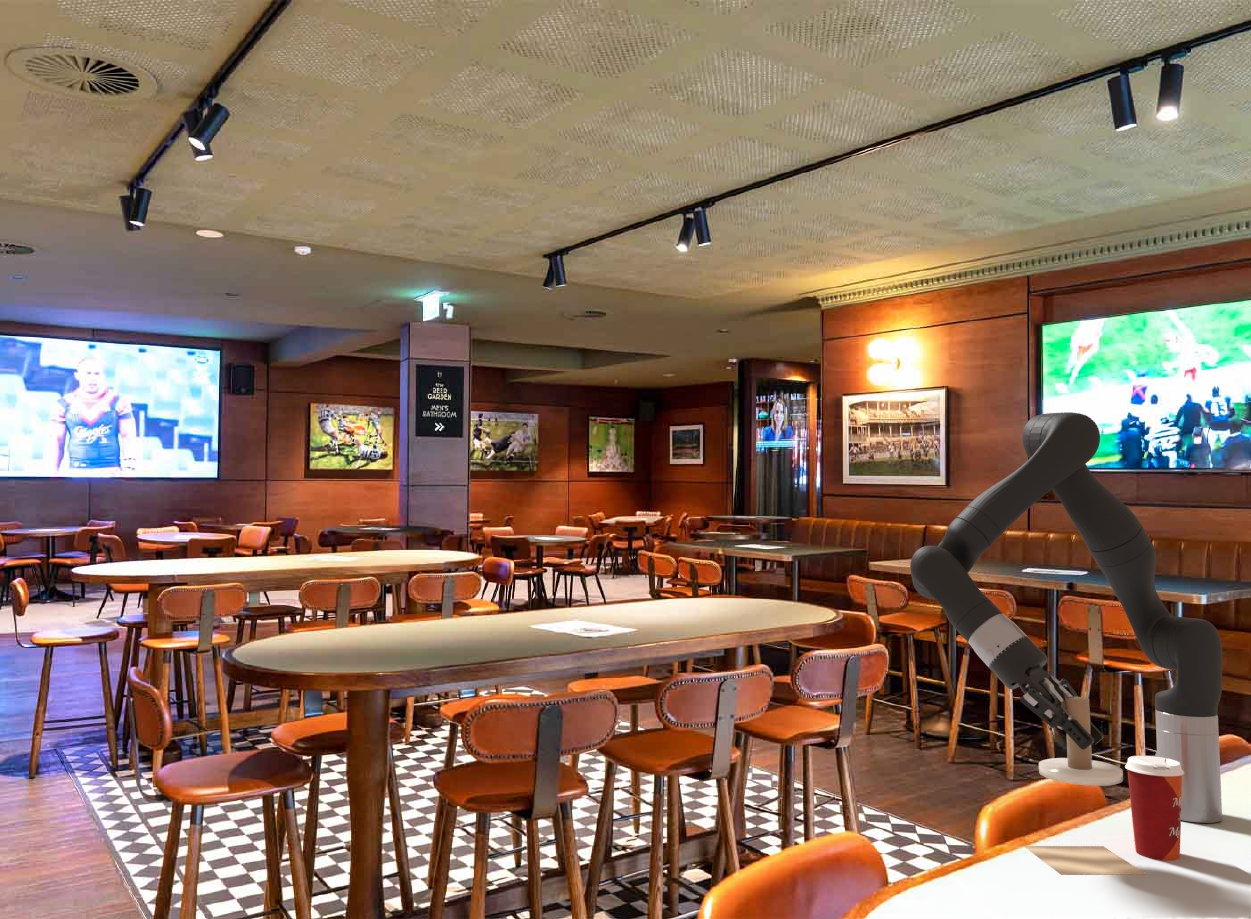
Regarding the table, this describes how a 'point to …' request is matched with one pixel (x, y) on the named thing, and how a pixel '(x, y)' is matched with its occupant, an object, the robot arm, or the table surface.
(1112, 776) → the beige peg stand
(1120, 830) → the table surface
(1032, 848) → the cork mat
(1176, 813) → the paper cup
